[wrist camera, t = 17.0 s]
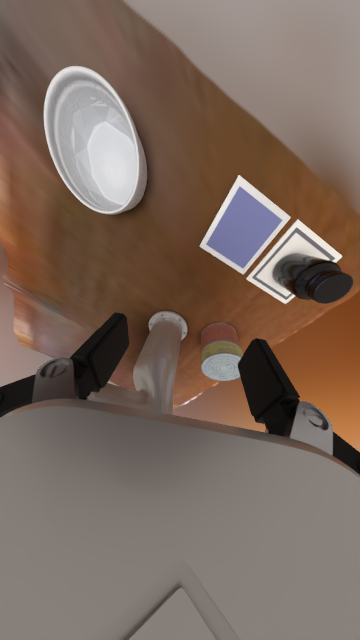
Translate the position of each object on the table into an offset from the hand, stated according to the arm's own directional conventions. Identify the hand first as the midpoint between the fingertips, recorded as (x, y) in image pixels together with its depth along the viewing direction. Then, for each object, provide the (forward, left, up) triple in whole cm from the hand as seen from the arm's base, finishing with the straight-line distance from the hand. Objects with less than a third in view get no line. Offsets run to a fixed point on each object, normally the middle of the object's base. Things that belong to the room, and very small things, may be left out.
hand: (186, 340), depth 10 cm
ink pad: (+3, -10, -27) cm, 29 cm away
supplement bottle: (-7, -20, -26) cm, 34 cm away
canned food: (-24, -3, -27) cm, 36 cm away
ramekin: (+19, +10, -27) cm, 34 cm away
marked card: (-7, -20, -27) cm, 34 cm away
